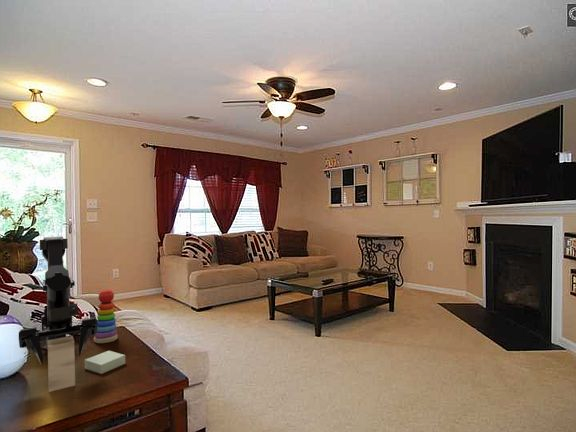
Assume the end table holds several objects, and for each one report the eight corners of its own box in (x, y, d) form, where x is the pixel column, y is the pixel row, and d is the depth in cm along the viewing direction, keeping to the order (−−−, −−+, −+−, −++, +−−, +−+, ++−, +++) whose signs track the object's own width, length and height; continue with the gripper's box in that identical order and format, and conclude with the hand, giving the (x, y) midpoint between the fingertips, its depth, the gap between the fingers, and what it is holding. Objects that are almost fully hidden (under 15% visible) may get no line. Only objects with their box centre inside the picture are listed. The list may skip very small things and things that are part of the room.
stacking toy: (107, 345, 127) (106, 292, 127) (88, 343, 129) (87, 291, 128) (122, 337, 135) (121, 287, 134) (104, 336, 136) (103, 287, 136)
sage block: (84, 369, 108) (84, 359, 108) (108, 359, 115) (108, 350, 115) (101, 375, 104) (101, 365, 104) (125, 364, 111) (125, 355, 111)
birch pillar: (48, 383, 99) (47, 340, 99) (73, 377, 103) (72, 335, 102) (48, 391, 94) (47, 346, 94) (75, 385, 98) (74, 341, 97)
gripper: (18, 300, 96) (16, 354, 87) (96, 290, 107) (102, 337, 98) (20, 322, 103) (19, 374, 94) (93, 310, 113) (98, 356, 104)
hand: (61, 359), depth 97 cm, fingers open, 8 cm apart
